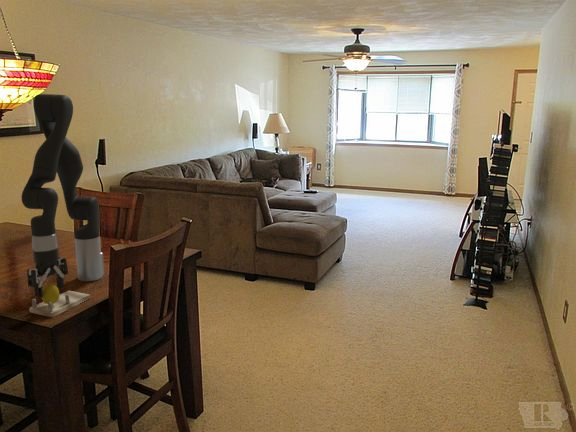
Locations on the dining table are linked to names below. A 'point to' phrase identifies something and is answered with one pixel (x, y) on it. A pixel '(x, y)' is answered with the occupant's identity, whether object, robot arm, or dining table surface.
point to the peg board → (59, 304)
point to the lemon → (50, 293)
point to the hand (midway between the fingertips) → (50, 292)
